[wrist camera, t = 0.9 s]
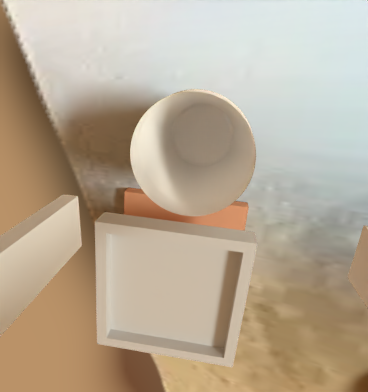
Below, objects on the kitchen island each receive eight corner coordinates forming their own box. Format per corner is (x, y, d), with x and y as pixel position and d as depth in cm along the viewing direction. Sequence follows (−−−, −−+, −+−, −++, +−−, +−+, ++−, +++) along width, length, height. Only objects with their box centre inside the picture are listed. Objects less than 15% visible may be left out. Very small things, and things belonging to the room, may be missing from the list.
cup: (150, 158, 32) (113, 192, 21) (176, 77, 29) (149, 66, 18) (224, 187, 32) (227, 236, 21) (259, 109, 29) (282, 118, 18)
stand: (128, 187, 34) (94, 221, 25) (247, 202, 33) (257, 243, 24) (126, 285, 39) (97, 343, 30) (229, 301, 38) (232, 367, 28)
